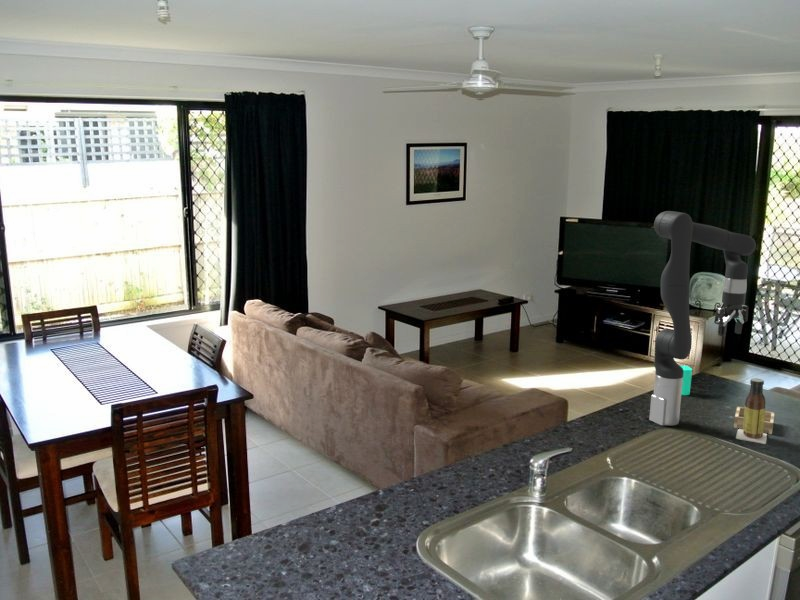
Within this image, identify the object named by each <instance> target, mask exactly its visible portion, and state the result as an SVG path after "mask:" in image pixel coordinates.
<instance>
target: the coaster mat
mask: <svg viewBox="0 0 800 600" xmlns="http://www.w3.org/2000/svg"><path fill="white" fill-rule="evenodd" d="M743 431H744V430H743V429H738V428H737V432H736V436H735V439H736V440H741V441H745V442H746V441H747V442H753V443H757V444H763V445H766V444H767V436H768V434H767V433H763V436H762V437H761V438H750V437H747V436H746V435H744V433H743Z"/></svg>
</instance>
